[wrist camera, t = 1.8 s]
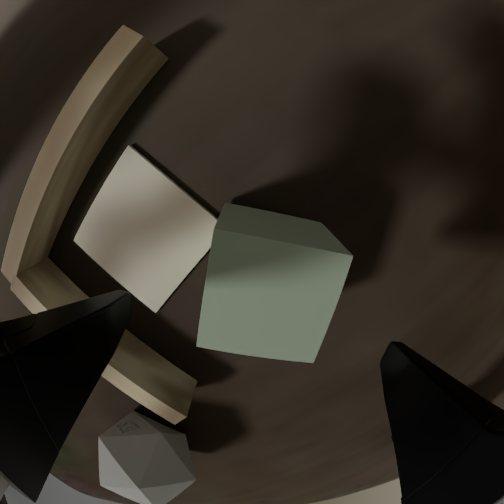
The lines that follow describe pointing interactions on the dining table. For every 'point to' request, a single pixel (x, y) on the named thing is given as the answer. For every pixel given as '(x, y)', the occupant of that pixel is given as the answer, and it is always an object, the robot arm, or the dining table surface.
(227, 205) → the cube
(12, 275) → the wooden corner guide
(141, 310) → the dining table surface
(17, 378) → the robot arm
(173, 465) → the die
